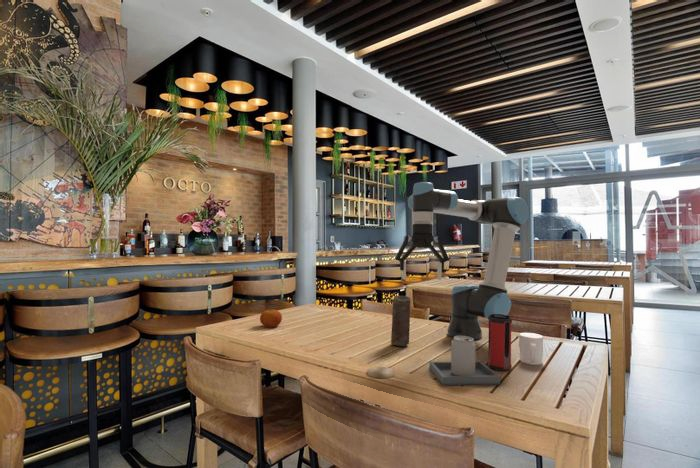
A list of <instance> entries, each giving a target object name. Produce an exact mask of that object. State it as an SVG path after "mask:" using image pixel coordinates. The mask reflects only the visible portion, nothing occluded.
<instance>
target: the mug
mask: <svg viewBox="0 0 700 468" xmlns="http://www.w3.org/2000/svg"><path fill="white" fill-rule="evenodd" d="M518 337H519V338H518V347H519V361H521V362H522V363H524V364H527V365H532V366H536V365H537V366H540V365H542V364H543V356H544V336H543V335H541V334H538V333H533V332H521V333H519V335H518Z"/></svg>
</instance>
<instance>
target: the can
mask: <svg viewBox="0 0 700 468" xmlns="http://www.w3.org/2000/svg"><path fill="white" fill-rule="evenodd" d="M450 344H451V347H450V349H451V350H450V351H451V354H450V357H451V358H450V362H451V372H452V373H453V374H454V375H455V376H474V375H475V361H476V346H477V345H476V342H475V341H474V339H473V338H471V337H468V336H455V337H453V339H452V340H451V343H450Z"/></svg>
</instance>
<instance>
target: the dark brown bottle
mask: <svg viewBox="0 0 700 468" xmlns="http://www.w3.org/2000/svg"><path fill="white" fill-rule="evenodd" d="M411 301H412V300H411V298H410V296H407V295H397V296H394V297H393V298H392V313H391V314H392V318H391V319H392V320H391V337H390V344H391V345H393V346H396V347H405V346H407V345H409V344H410V326H411V325H410V322H411V320H410V319H411Z"/></svg>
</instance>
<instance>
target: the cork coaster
mask: <svg viewBox="0 0 700 468" xmlns="http://www.w3.org/2000/svg"><path fill="white" fill-rule="evenodd" d="M395 373H396V371H395V370H394V369H393V368H391V367H386V366H374V367H373V366H372V367H370V368H368V369H367V371H366V374H367V375H368V376H369V377H373V378H376V379H390V378H393V377H394V376H395Z"/></svg>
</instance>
